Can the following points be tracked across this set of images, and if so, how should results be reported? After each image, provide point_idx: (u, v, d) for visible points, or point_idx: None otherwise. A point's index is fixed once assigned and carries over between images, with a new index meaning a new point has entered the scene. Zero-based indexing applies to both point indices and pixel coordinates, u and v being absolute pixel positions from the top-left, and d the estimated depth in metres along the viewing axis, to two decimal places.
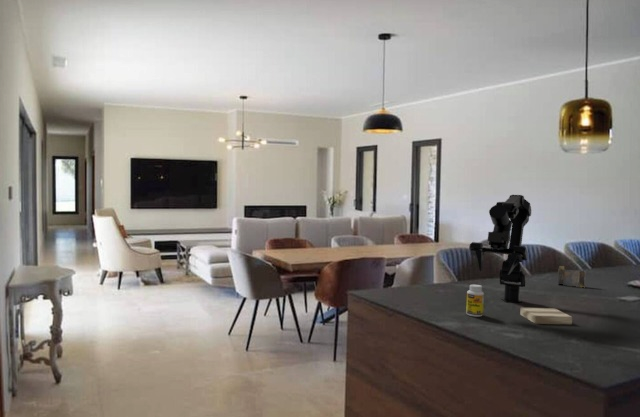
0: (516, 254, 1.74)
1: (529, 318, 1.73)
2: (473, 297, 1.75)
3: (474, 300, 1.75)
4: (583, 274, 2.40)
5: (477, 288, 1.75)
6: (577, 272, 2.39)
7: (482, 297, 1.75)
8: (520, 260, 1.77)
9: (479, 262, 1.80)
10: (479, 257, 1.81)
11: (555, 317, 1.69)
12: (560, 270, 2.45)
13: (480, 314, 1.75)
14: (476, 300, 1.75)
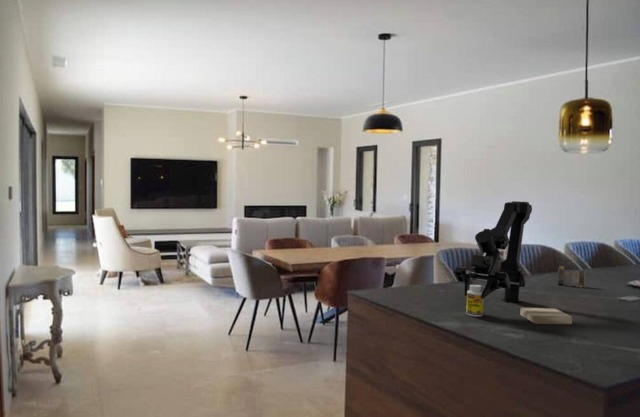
0: (492, 278, 1.75)
1: (529, 318, 1.73)
2: (473, 297, 1.75)
3: (474, 300, 1.75)
4: (583, 274, 2.40)
5: (477, 288, 1.75)
6: (577, 272, 2.39)
7: None
8: (497, 286, 1.77)
9: (465, 286, 1.80)
10: (466, 281, 1.80)
11: (555, 317, 1.69)
12: (560, 270, 2.45)
13: (480, 314, 1.75)
14: (476, 300, 1.75)
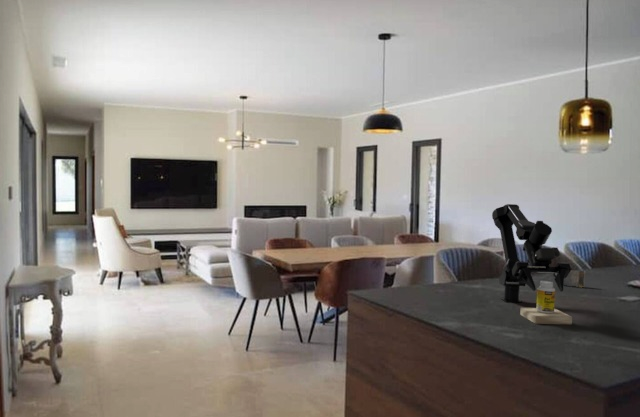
0: (565, 270, 1.76)
1: (529, 318, 1.73)
2: (551, 294, 1.72)
3: (552, 296, 1.72)
4: (582, 274, 2.40)
5: (552, 284, 1.73)
6: (576, 272, 2.40)
7: None
8: None
9: (531, 281, 1.74)
10: (529, 276, 1.75)
11: (555, 317, 1.69)
12: None
13: None
14: (553, 296, 1.72)
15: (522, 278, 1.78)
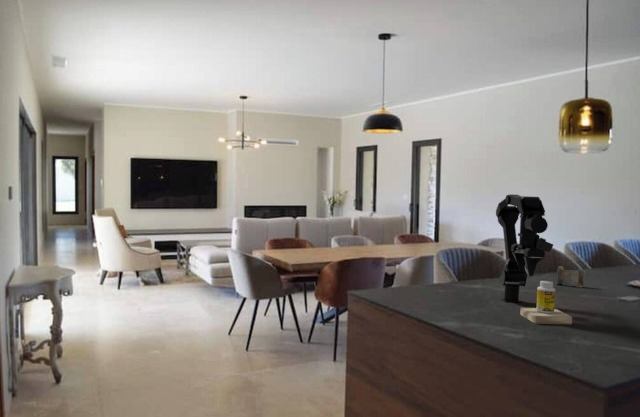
0: None
1: (529, 318, 1.73)
2: (551, 294, 1.72)
3: (552, 296, 1.72)
4: (582, 274, 2.41)
5: (552, 284, 1.73)
6: (576, 272, 2.40)
7: None
8: None
9: None
10: None
11: (555, 317, 1.69)
12: (559, 270, 2.45)
13: None
14: (553, 296, 1.72)
15: (528, 259, 1.82)
